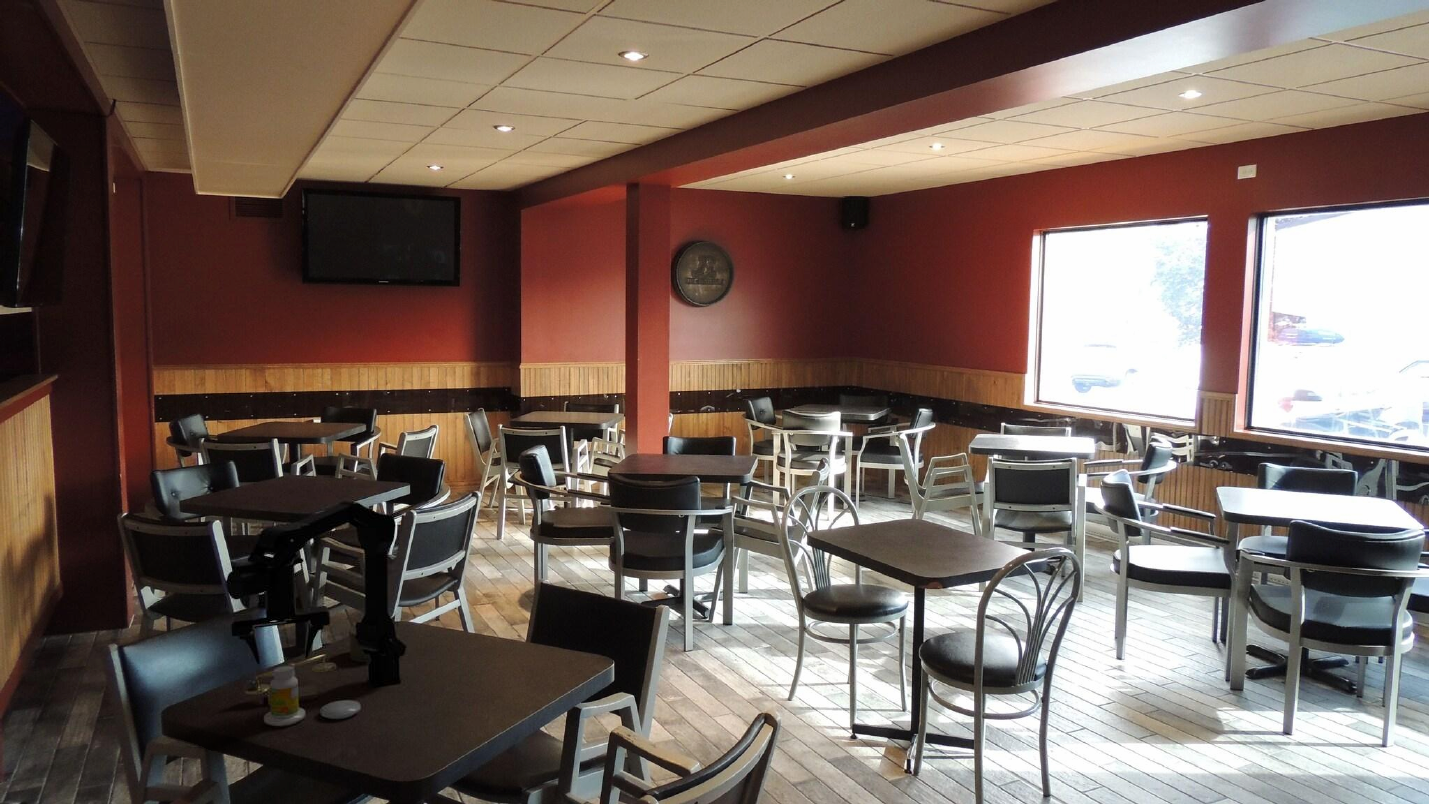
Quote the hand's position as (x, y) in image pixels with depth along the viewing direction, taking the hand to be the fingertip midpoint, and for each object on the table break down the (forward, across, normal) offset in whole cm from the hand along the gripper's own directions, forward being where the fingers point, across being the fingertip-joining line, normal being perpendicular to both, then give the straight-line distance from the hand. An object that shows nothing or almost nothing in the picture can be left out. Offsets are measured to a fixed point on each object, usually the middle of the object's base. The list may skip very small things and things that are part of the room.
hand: (282, 660), depth 212 cm
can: (+13, -22, -35) cm, 43 cm away
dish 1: (+13, 0, 0) cm, 13 cm away
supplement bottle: (+12, 0, 0) cm, 12 cm away
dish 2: (+13, -11, +1) cm, 17 cm away
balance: (+13, -2, -13) cm, 18 cm away
